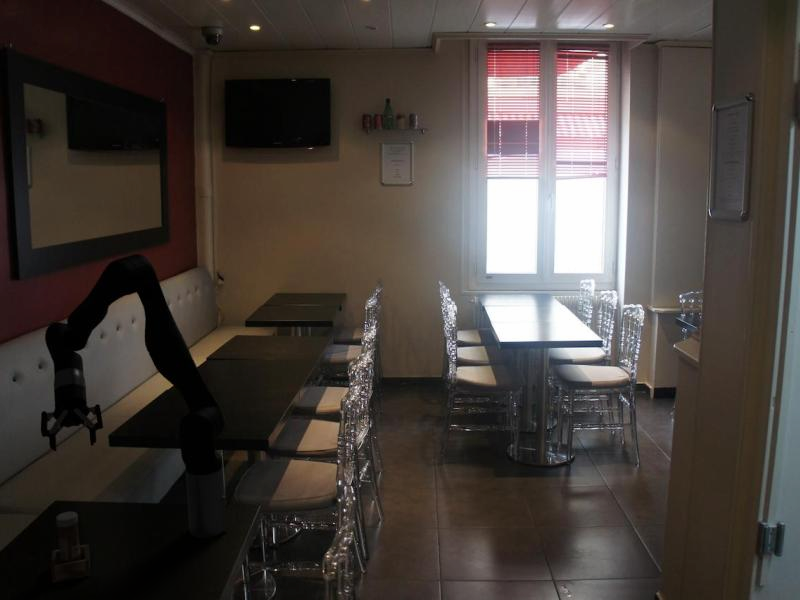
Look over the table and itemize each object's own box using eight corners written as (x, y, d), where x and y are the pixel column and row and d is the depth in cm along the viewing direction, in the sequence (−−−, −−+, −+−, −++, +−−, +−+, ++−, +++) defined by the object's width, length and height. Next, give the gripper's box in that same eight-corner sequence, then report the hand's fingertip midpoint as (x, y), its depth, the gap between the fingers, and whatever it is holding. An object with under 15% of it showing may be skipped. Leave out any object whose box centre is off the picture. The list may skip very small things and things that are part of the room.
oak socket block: (90, 559, 182) (88, 544, 181) (90, 576, 175) (88, 560, 174) (53, 565, 179) (52, 550, 178) (52, 583, 172) (50, 567, 171)
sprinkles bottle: (83, 569, 176) (78, 516, 174) (63, 575, 174) (57, 521, 171) (79, 560, 180) (75, 509, 177) (59, 566, 178) (54, 514, 175)
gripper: (37, 386, 189) (40, 445, 180) (98, 379, 194) (103, 435, 185) (41, 400, 194) (43, 458, 186) (100, 393, 200) (105, 448, 191)
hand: (73, 447), depth 186 cm, fingers open, 8 cm apart
